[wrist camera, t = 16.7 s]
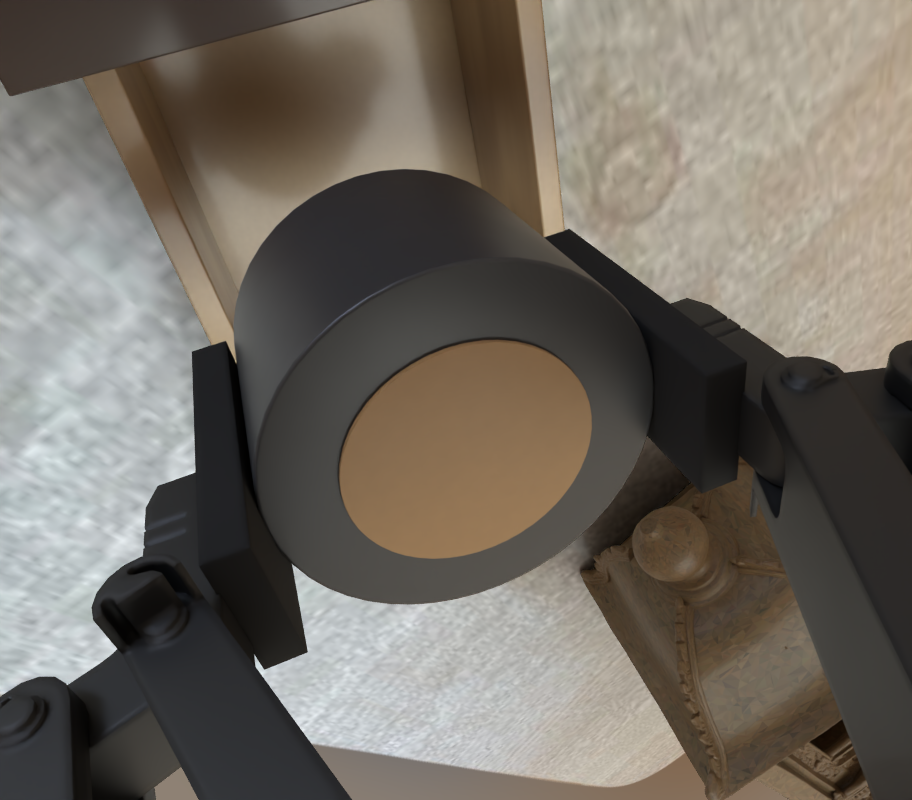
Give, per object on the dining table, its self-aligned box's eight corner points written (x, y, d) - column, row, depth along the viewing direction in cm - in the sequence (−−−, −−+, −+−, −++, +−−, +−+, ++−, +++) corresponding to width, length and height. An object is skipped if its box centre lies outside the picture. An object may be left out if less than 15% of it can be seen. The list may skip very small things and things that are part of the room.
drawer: (540, 395, 36) (610, 484, 30) (289, 488, 34) (312, 602, 28) (451, -217, 21) (553, -274, 16) (2, -119, 19) (-73, -142, 14)
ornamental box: (476, 491, 43) (576, 800, 29) (716, 309, 38) (976, 574, 24) (713, 659, 63) (840, 891, 49) (890, 554, 58) (1089, 778, 44)
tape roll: (177, 403, 16) (176, 570, 12) (334, 96, 13) (405, 168, 9) (441, 486, 20) (511, 632, 16) (599, 261, 17) (730, 364, 13)
